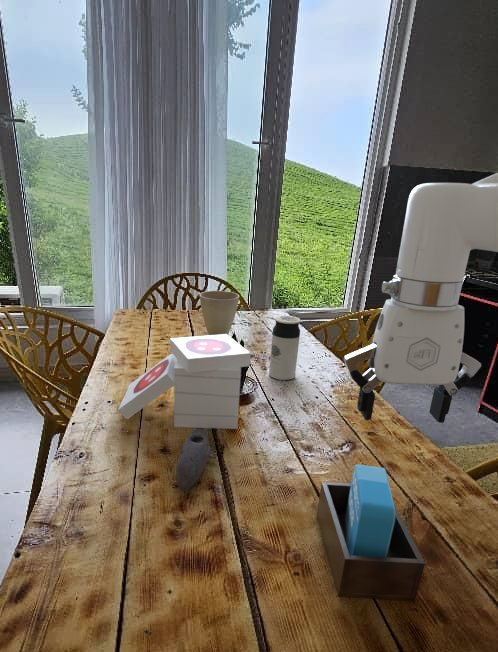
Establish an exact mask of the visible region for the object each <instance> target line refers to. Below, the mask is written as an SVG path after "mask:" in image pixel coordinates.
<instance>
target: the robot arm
mask: <svg viewBox="0 0 498 652" xmlns="http://www.w3.org/2000/svg"><path fill="white" fill-rule="evenodd" d="M402 229H403V230H402V235H401V240H400V247H399V252H398V258H397V264H396V269H395V274H394V275H393V276H392V280H389V281H383V282H382V284H381V292H382V293H383V294H388V295H389V296H390V297H391V298H388V299H386V300H385V302H384V304H383V306H382V309H381V312H380V315H379V317H378V320H377V324H376V326H375V331H374V334H373V337H372V342H371V344H370V345H367V346H365V347H362V348H360V349H358V350H355V351H353V352H351V353H348V354H346V355H344V356H343V362H344V364H345V367H346V369H347V372H348V374H349V376H350V378H351V379H352V380H353V382H355V383H356V385H357V386H358V387H359V391H358V396H357V397H358V398H357V403H356V404H357V406H356V408H357V410H358V412H360V413H361V416H362V417H363V419H364V420H365V421H370V420H372V419H373V418H372V416H373V413H374V406H375V400H376V393H375V392H374V389H376V388H377V387H379V385H380V384H381V383H382V382H383V383H386V384H391V385H392V384H394V385H418V386H419V385H420V386H421V385H422V386H435V388H434V389H433V393H432V398H431V402H430V406H429V414H430V415H431V416H432V418H434V420H435V421H436V422H438V424H439V423H440V424H444V423H445V420H446V416H447V415H448V414H449V411H450V408H451V403H452V400H453V397H454V396H457V395H458V393H459V390H462V388H464V387H465V386H466V385H468V384H469V383H470V382H471V379H472V378H473V377H474V376H475V374H477V372H478V371H479V370H480V369H481V367H482V363H481V362H479V361H478V360H477V359H476V358H474V357H472V356H470V355H468V354H467V353H465V352H463V345H464V336H465V307H464V306H463V305H460V304H459V300H460V297H461V291H462V287H463V284H464V278H465V274H466V269H467V266H468V261H469V257H470V252H471V251H472V250H482V251H489V252H496V253H498V172H496V173H494V174H491V175H489V176H487V177H485V178H482V179H480V180H477V181H475V182H472V183H465V182H426V183H421V184H418V185H416V186H415V187H414V188H413V189H411V191H410V193H409V195H408V199H407V205H406V211H405V217H404V223H403V228H402ZM366 361H368V368H369V369H367V370H366V371H365V372H364V373H363V374H362V373H361V371H360V370H359V364H360V363H362V362H366ZM460 364H462V367H461V368H460V366H461V365H460ZM459 369H460V370H459Z"/></svg>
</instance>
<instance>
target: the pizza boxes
mask: <svg viewBox="0 0 498 652" xmlns="http://www.w3.org/2000/svg"><path fill="white" fill-rule="evenodd" d="M169 351H170V352H171V353H170V354H168V355H167V356H166V357H164V358H163V359H162V360H160V361H159V362H158V363H157V364H155V365H153V366H152V367H151V368H150V369H148V370H147V371H145V372H144V373H143V374H142V375H140V376H139V377H138V378H137V379H135V380H134V381H132V382H131V383H130V384H129V385H128V387H127V390H126V392H125V394H124V396H123V398H122V400H121V402H120V405H119V406H118V409H117V411H118V412H119V413H120V414H121V415H122V416H123V417H124V419H126V420H129V419H130V418H131V417H133V416H134V415H136V414H137V413H138V412H139V411H141V410H142V409H144V408H145V407H147V406H148V405H149V404H150V403H152V402H153V401H155V400H156V399H157V398H159V397H160V396H162V395H163V394H165V393H166V392H167V391H168V390H170V389H172V388H173V387H174V389H173V391H174V392H173V395H174V396H173V398H174V400H173V402H174V404H173V405H174V407H173V410H174V411H173V412H174V413H173V421H174V422H173V426H174V428H194V429H196V428H199V429H227V430H238V425H239V409H240V408H239V407H240V394H241V376H242V368H244V367H245V368H246V367H250V366H251V354H252V353H251V351H249V350H247V348H245V347H244V346H242V345H241V343H239V342H238V341H236V340H235V339H234V338H233V337H231V335H229V334H228V335H227V334H219V335H208V334H207V335H194V336H181V337H170V338H169Z"/></svg>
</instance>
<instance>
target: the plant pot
mask: <svg viewBox="0 0 498 652" xmlns="http://www.w3.org/2000/svg"><path fill="white" fill-rule="evenodd" d="M239 301H240V294H238V293H236V292H234V291H228V290H205V291H203V292H200V293H199V303H200V309H201V314H202V315H201V316H202V318H203V322H204V327H205V330H206V332H207V335H219V334H227V335H229V334H230V331H231V328H232V327H233V323H234V320H235V317H236V314H237V309H238V304H239Z"/></svg>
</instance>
